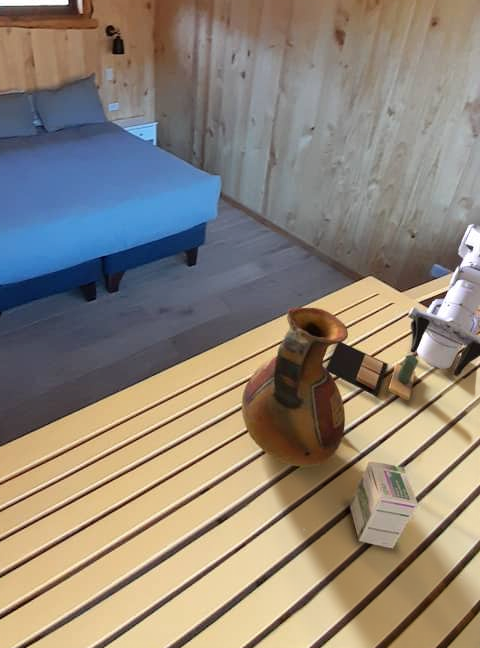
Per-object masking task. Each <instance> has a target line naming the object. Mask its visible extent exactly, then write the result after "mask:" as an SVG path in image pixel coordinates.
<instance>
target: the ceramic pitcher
mask: <svg viewBox="0 0 480 648" xmlns="http://www.w3.org/2000/svg"><path fill="white" fill-rule="evenodd" d="M286 319H287V322H288V325H289V329H288V331H287V332H286V333H285V335H284V337H283V339H282V341H281V343H280V344H279V347H278V350H277V354H276V356H273V357H271V358H269V359H267V360H265V361H264V362H263V363H261V365H259V366H258V367H257V369H256V370H255V371H254V372H253V374H252V375H250V378H249V380H248V382H247V383H246V385H245V388H244V390H243V394H242V399H241V414H242V418H243V419H242V420H243V423H244V425H245V428H246V430H247V432H248V435H249V437H250V438H251V439H252V441H254V443H255V444H256V445H257V446H258V447H259V448H260V449H261V450H262V451H263V452H265V453H266V454H267V455H268V456H269V457H271V458H273V459H274V460H278V461H280V462H283V463H285V464H288V465H291V466H295V467H315V466H319V465H321V464H323V463H325V462H327V461H328V460H329V459H330V458H331V457H333V455H335V453H336V452H337V450H338V449H339V447H340V445H341V443H342V440H343V438H344V437H343V436H344V433H345V432H344V431H345V424H346V423H345V422H346V417H345V416H346V414H345V405H344V401H343V398H342V395H341V391H340V389H339V386H338V384H337V383H336V381H335V379H334V377H333V376H332V374H331V373H330V372H328V370H327V369H326V367H325V366H324V358H325V356H326V353H327V352H328V349H329V347H330V346H333V345H337V344H338V343H341V342H342V343H344V341H346V340H347V339H348V335H349V332H348V329H347V326H346V325H345V323H344V322H343V321H341V319H339V318H337V317H336V316H335V315H334V314H332V313H331V312H329V311H328V310H326V309H323V308H318V307H300V306H298V307H297V306H293V307H291V308H289V309H288V310H287V316H286Z"/></svg>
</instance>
